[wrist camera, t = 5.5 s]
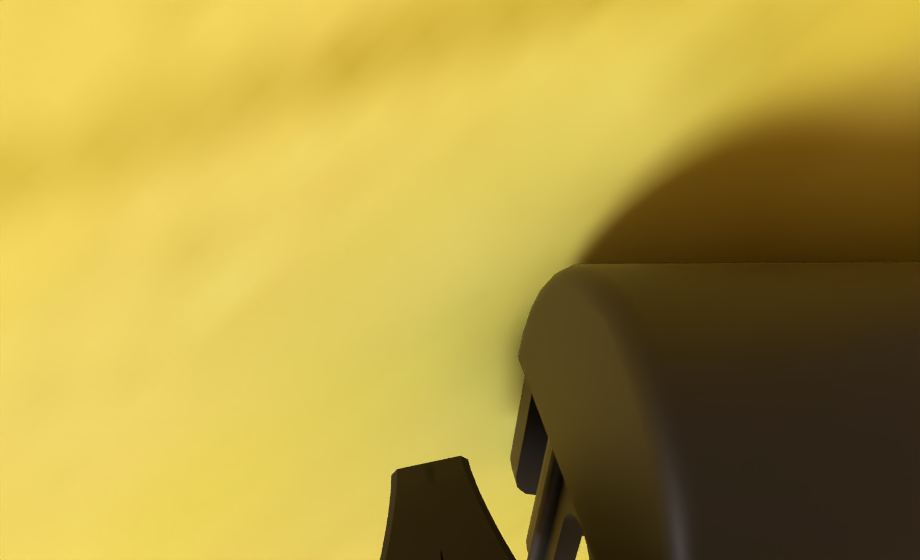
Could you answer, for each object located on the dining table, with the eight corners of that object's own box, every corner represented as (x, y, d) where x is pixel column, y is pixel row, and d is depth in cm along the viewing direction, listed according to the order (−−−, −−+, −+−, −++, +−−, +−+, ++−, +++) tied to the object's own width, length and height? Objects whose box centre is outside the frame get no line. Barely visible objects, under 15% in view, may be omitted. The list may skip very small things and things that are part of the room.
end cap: (1030, 184, 12) (1614, 444, 7) (875, 448, 16) (1169, 760, 10) (529, 175, 11) (751, 520, 5) (484, 475, 14) (581, 870, 9)
